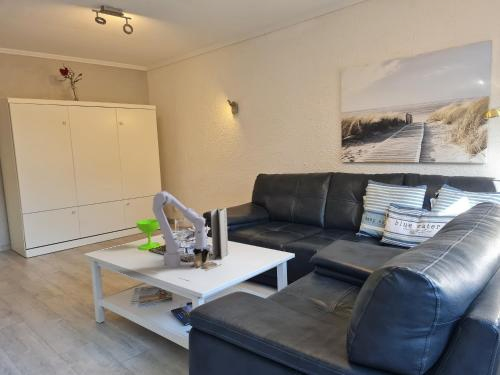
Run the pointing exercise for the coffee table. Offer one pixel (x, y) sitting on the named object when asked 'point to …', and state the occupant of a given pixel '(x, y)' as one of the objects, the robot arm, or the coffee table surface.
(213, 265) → the offcut upper
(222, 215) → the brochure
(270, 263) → the coffee table surface
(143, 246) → the wineglass
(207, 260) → the tan wooden block
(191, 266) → the rack
